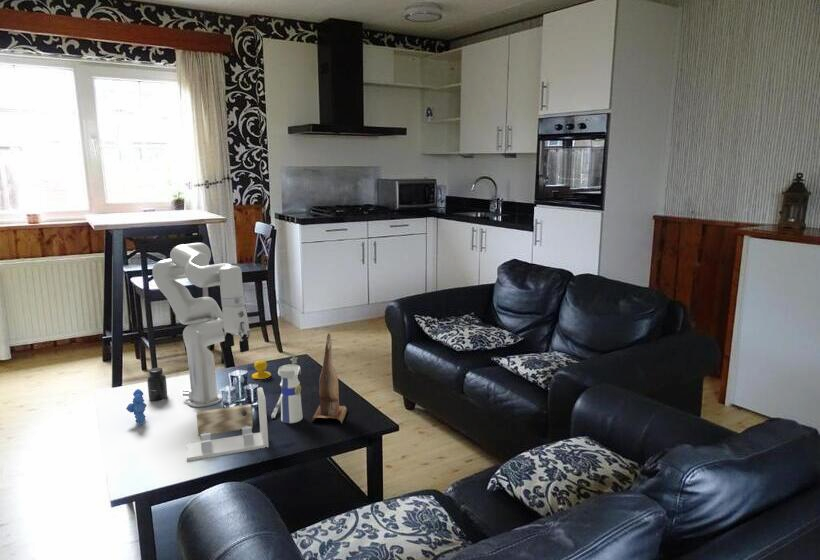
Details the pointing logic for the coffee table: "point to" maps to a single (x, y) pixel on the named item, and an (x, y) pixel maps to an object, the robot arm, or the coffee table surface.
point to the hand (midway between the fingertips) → (237, 348)
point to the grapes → (138, 406)
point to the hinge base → (233, 438)
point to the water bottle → (290, 392)
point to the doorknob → (261, 370)
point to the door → (224, 419)
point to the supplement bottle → (157, 385)
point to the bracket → (276, 408)
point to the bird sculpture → (329, 388)
